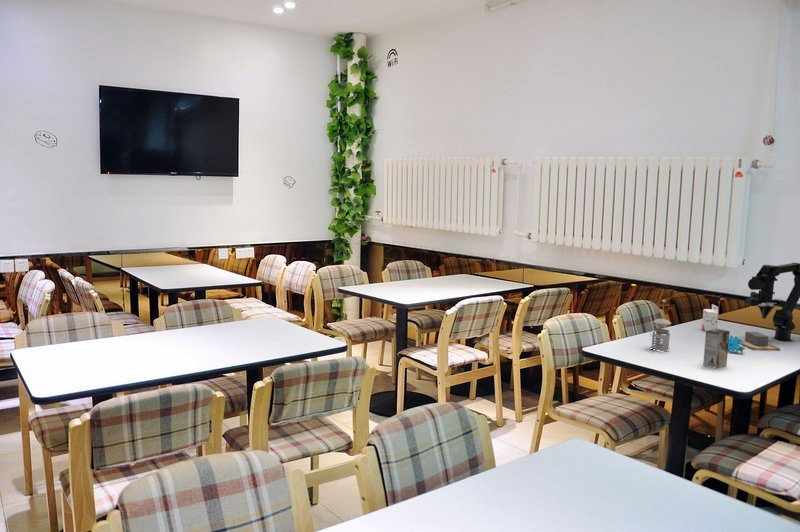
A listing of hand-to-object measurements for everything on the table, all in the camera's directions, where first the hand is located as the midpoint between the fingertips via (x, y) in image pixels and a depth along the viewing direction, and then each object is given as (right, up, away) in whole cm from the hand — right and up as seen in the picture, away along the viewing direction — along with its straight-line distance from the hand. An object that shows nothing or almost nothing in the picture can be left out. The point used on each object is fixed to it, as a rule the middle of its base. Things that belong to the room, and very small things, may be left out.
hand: (763, 318), depth 342 cm
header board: (-9, -13, -9) cm, 18 cm away
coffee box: (-48, -18, -47) cm, 70 cm away
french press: (-63, -13, -21) cm, 68 cm away
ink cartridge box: (-19, -9, +21) cm, 30 cm away
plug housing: (-9, -12, -9) cm, 17 cm away
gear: (-28, -15, -23) cm, 39 cm away
